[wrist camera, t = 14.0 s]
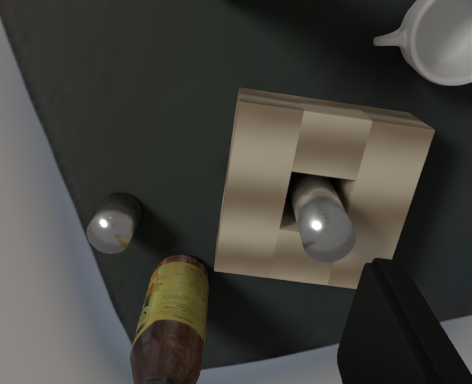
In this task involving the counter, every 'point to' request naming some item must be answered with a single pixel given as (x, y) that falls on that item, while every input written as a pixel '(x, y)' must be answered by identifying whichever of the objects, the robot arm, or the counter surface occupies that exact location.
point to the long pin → (320, 217)
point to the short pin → (114, 223)
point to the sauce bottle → (172, 324)
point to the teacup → (436, 40)
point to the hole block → (318, 163)
